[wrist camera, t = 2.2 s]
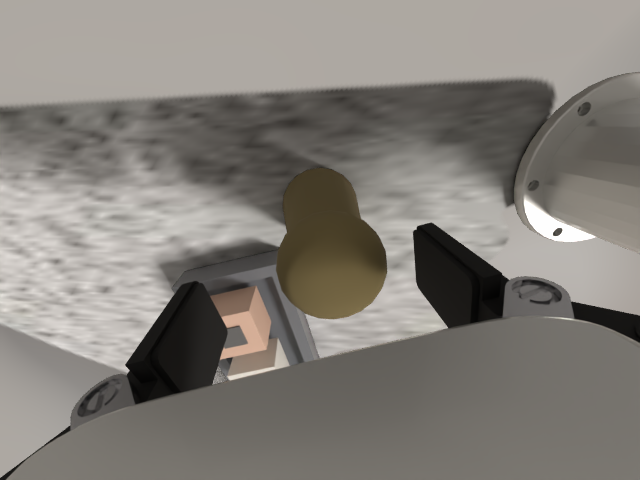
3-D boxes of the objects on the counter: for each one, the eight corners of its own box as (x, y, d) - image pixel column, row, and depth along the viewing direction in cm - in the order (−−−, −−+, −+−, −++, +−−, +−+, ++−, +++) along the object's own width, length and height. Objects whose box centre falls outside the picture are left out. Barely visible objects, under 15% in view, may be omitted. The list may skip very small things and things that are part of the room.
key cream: (277, 337, 23) (274, 367, 20) (289, 365, 24) (288, 397, 22) (236, 346, 23) (226, 377, 20) (251, 374, 25) (244, 406, 22)
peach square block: (256, 285, 20) (248, 311, 17) (271, 321, 22) (266, 350, 19) (209, 296, 20) (194, 323, 18) (227, 330, 22) (216, 361, 19)
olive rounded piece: (266, 199, 20) (229, 277, 10) (328, 151, 18) (356, 185, 8) (313, 251, 22) (320, 358, 12) (370, 212, 21) (431, 295, 11)
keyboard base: (283, 248, 22) (280, 263, 19) (328, 384, 30) (330, 405, 28) (185, 271, 22) (171, 288, 20) (256, 398, 30) (252, 421, 28)
